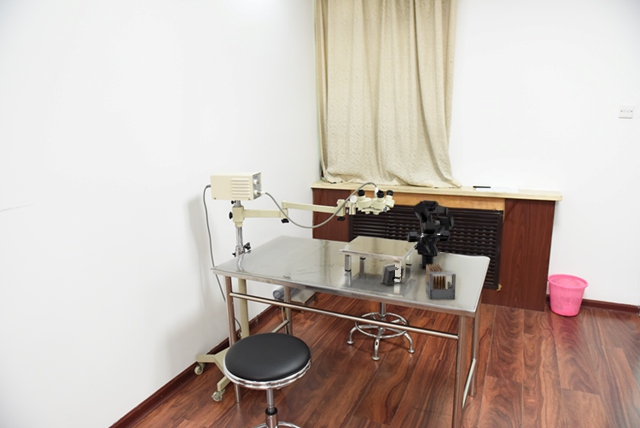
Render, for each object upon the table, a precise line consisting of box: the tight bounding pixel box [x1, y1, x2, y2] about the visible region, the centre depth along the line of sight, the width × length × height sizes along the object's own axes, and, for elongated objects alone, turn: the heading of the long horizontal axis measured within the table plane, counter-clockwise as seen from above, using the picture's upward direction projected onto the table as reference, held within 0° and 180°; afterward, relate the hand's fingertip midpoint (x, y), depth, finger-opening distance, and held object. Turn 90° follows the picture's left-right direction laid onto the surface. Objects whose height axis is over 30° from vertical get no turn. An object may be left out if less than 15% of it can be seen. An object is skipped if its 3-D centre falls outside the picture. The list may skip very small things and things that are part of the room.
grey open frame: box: [425, 271, 457, 300], centre depth 165 cm, size 9×10×10 cm
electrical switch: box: [380, 262, 405, 286], centre depth 180 cm, size 9×5×9 cm, turn 113°
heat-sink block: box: [424, 263, 447, 289], centre depth 175 cm, size 14×6×8 cm, turn 176°
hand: (430, 253), depth 183 cm, fingers closed
